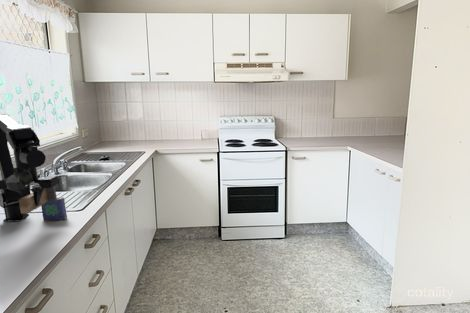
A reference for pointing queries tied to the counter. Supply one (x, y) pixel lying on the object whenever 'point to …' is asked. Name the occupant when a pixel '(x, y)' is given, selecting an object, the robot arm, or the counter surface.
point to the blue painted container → (54, 210)
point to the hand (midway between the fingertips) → (33, 205)
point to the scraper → (29, 204)
